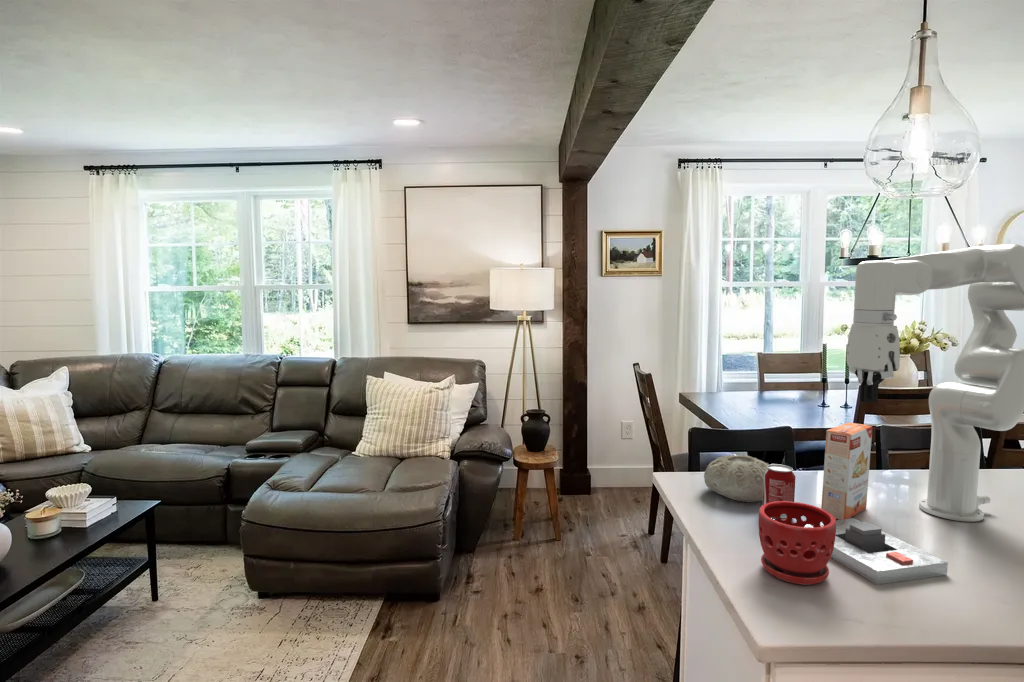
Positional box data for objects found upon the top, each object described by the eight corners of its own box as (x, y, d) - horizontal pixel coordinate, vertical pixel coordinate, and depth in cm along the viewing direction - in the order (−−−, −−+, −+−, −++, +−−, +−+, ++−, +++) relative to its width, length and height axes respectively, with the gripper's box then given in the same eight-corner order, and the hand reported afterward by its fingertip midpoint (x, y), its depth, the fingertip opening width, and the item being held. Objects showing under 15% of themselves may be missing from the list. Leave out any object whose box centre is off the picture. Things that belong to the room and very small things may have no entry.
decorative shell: (728, 511, 143) (730, 470, 142) (690, 487, 161) (691, 451, 160) (792, 505, 148) (793, 466, 147) (747, 482, 165) (749, 447, 164)
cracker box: (847, 523, 136) (852, 434, 134) (819, 515, 141) (824, 429, 139) (868, 508, 145) (873, 425, 143) (842, 502, 150) (846, 420, 148)
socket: (853, 529, 133) (854, 515, 132) (946, 574, 111) (948, 559, 111) (792, 535, 129) (793, 522, 129) (877, 584, 108) (878, 568, 107)
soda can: (796, 523, 136) (799, 472, 135) (765, 521, 137) (767, 470, 136) (789, 513, 142) (791, 464, 141) (759, 510, 144) (761, 462, 142)
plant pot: (746, 557, 118) (748, 499, 117) (812, 559, 118) (815, 500, 117) (772, 591, 105) (775, 525, 104) (847, 592, 105) (851, 527, 104)
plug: (866, 546, 123) (867, 521, 123) (884, 555, 119) (885, 529, 118) (844, 549, 122) (845, 523, 121) (861, 558, 117) (863, 532, 117)
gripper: (918, 320, 122) (912, 408, 123) (859, 316, 136) (855, 395, 138) (888, 320, 120) (883, 409, 121) (832, 316, 134) (828, 396, 136)
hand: (868, 401), depth 129 cm, fingers closed
